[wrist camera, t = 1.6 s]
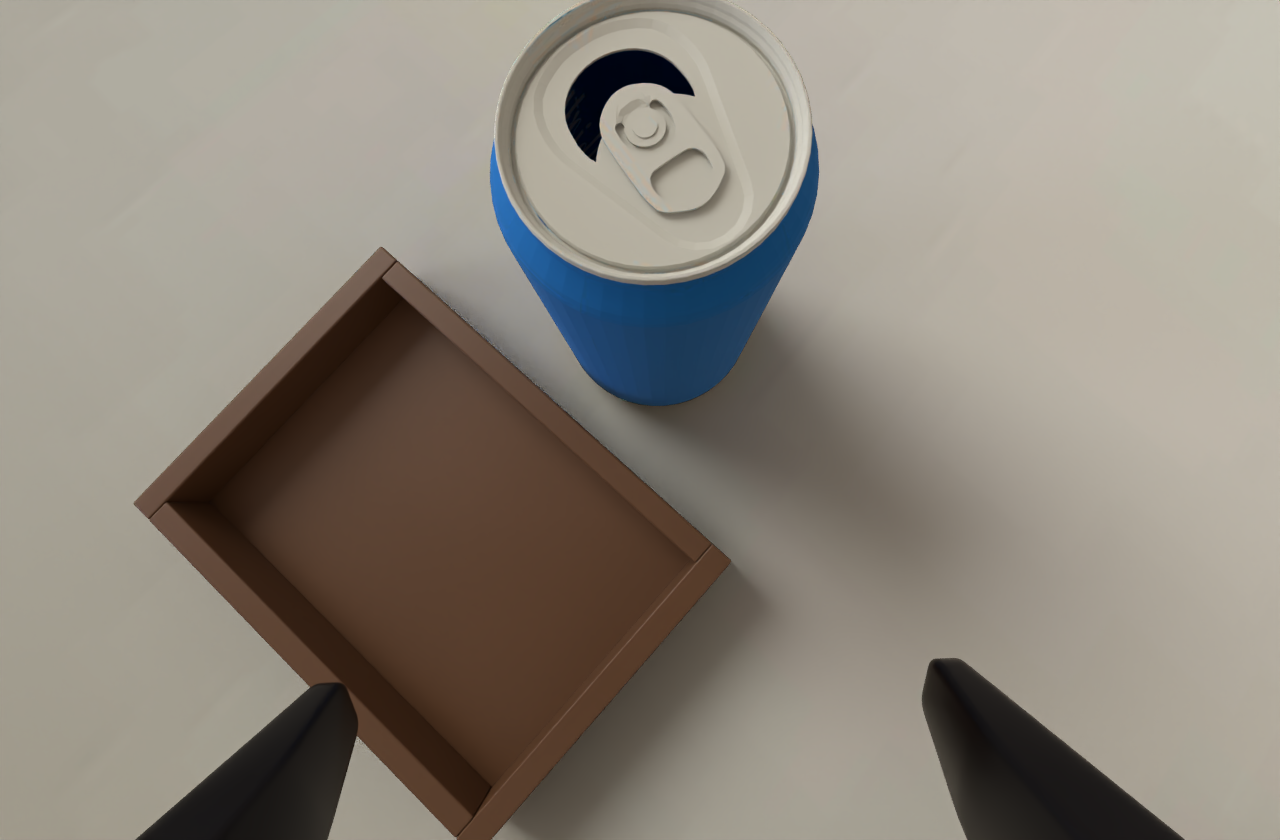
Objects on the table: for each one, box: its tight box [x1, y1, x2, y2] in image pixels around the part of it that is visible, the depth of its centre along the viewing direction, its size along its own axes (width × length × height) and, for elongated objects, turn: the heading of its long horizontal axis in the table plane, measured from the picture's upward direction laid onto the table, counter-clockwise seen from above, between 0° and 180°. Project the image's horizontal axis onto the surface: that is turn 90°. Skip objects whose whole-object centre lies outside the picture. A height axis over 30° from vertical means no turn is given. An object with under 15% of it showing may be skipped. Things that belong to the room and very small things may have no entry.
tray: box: [134, 247, 731, 840], centre depth 21 cm, size 16×12×3 cm
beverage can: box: [490, 0, 819, 406], centre depth 17 cm, size 6×6×12 cm
